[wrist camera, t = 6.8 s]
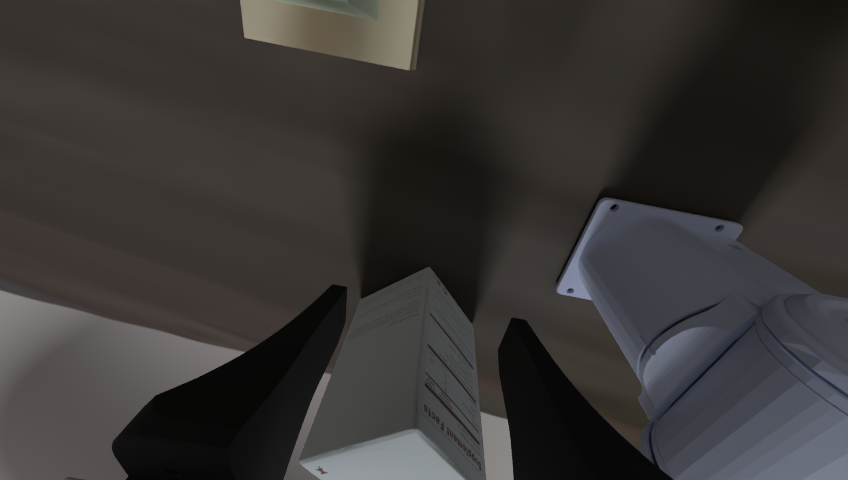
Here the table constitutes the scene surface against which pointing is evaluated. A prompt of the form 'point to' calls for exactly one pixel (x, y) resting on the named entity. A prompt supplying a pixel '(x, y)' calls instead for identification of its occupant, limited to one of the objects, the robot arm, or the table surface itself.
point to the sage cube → (342, 6)
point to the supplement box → (402, 392)
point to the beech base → (340, 30)
